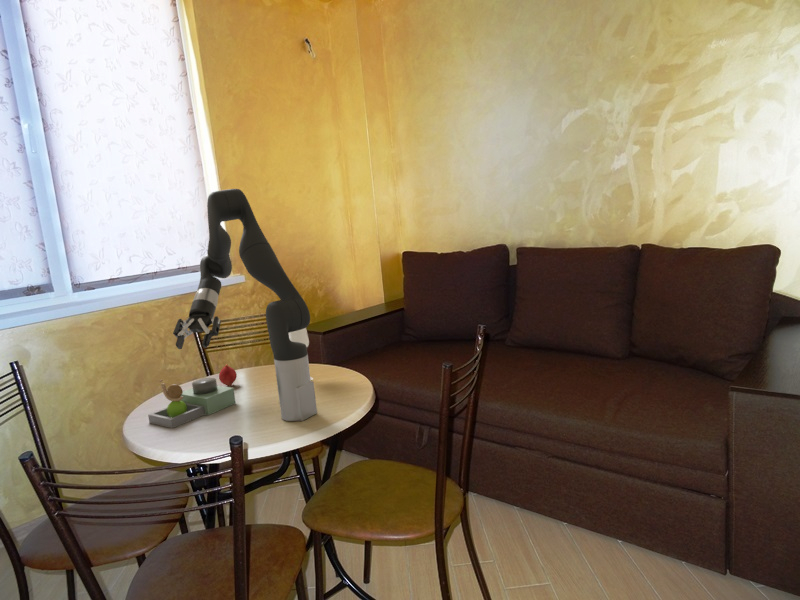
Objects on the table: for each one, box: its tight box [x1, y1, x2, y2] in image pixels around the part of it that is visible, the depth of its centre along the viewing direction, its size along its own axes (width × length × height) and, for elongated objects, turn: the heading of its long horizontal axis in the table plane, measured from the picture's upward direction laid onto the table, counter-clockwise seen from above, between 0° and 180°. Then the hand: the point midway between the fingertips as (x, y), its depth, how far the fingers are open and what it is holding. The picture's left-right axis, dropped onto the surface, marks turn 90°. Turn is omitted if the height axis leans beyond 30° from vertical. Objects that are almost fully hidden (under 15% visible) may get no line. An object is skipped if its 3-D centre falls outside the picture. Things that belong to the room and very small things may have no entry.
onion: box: [218, 363, 237, 387], centre depth 179 cm, size 6×6×8 cm
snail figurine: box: [158, 379, 187, 418], centre depth 151 cm, size 5×6×12 cm
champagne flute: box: [288, 327, 314, 381], centre depth 177 cm, size 7×7×24 cm
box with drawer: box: [147, 377, 236, 429], centre depth 155 cm, size 14×21×8 cm, turn 148°
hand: (191, 347), depth 161 cm, fingers open, 8 cm apart
